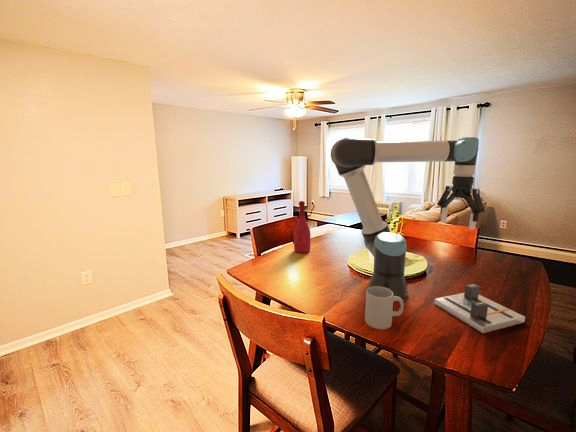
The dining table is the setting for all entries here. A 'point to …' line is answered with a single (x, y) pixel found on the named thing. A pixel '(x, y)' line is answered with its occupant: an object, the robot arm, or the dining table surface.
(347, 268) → the dining table surface
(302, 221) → the wine bottle
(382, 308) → the mug
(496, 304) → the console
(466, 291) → the fader tab
